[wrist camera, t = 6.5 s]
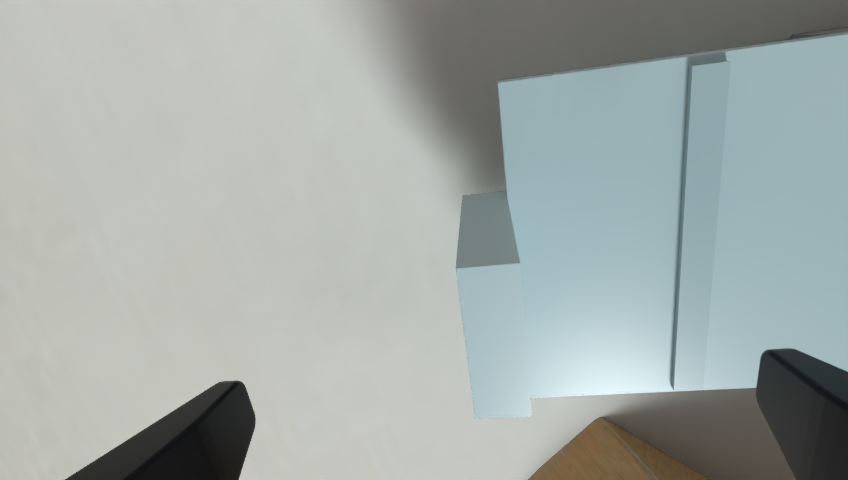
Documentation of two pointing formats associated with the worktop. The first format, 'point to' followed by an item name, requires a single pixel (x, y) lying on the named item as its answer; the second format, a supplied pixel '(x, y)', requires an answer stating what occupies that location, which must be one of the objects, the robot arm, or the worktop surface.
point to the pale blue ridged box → (660, 226)
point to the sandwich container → (612, 458)
